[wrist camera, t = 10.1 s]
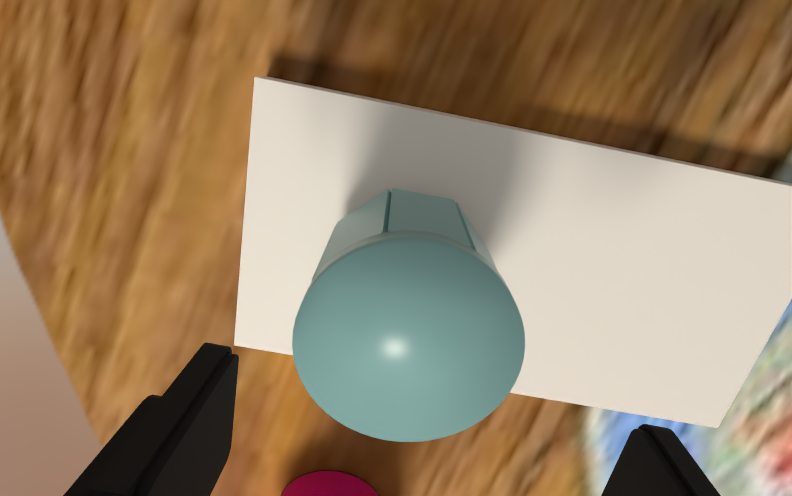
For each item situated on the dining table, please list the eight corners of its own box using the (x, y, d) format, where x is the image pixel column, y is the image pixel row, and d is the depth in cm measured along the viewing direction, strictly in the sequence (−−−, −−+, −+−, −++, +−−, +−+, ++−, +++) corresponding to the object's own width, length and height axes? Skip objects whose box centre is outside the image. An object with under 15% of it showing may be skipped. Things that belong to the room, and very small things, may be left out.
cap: (508, 204, 18) (556, 268, 12) (466, 348, 20) (490, 457, 14) (338, 172, 17) (306, 221, 12) (315, 322, 20) (280, 423, 14)
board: (816, 188, 20) (1022, 248, 13) (698, 406, 24) (810, 534, 18) (266, 76, 19) (189, 80, 12) (244, 327, 23) (180, 433, 16)
